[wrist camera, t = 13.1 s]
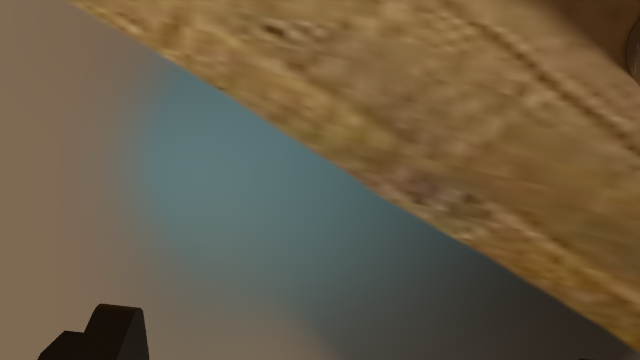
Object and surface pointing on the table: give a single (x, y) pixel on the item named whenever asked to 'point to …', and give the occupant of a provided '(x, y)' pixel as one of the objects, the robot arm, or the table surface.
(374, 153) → the table surface
